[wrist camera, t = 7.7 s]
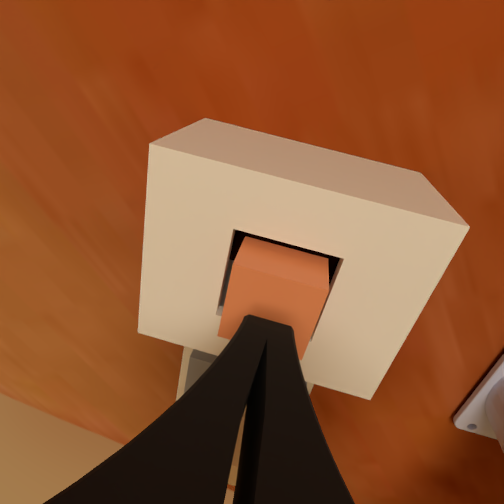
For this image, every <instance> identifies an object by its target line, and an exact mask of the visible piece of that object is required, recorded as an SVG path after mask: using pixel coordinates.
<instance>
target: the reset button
mask: <svg viewBox="0 0 504 504" xmlns="http://www.w3.org/2000/svg"><path fill="white" fill-rule="evenodd" d="M328 292H329V267H328V258H324V257H321V256H317V255H313V254H310V253H306V252H302V251H299V250H295V249H291V248H288V247H284V246H280V245H277V244H273V243H269V242H265V241H262V240H258V239H254V238H251V237H247V236H245V238H244V240H243V242H242V244H241V247H240V249H239V251H238V253H237V256H236V258H235V260H234V262H233V265H232V270H231V275H230V279H229V284H228V289H227V293H226V298H225V303H224V307H223V312H222V317H221V321H220V326H219V331H218V335H217V336H219V337H222V338H226V339H229V340H231V339H232V337H233V336H234V334H235V333H236V331H237V330H238V328H239V326H240V324H241V323H242V321H243V318H244V316H246V315H248V314H250V315H254V316H257V317H261V318H264V319H268V320H271V321H275V322H278V323H282V324H285V325H289V326H291V327H292V328H293V330H294V337H295V343H296V348H297V353H298V357H299V360H302V358H303V356H304V353H305V351H306V348H307V346H308V343H309V341H310V338H311V335H312V333H313V330H314V328H315V325H316V323H317V320H318V318H319V315H320V313H321V310H322V308H323V305H324V303H325V300H326V297H327V295H328Z"/></svg>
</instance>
